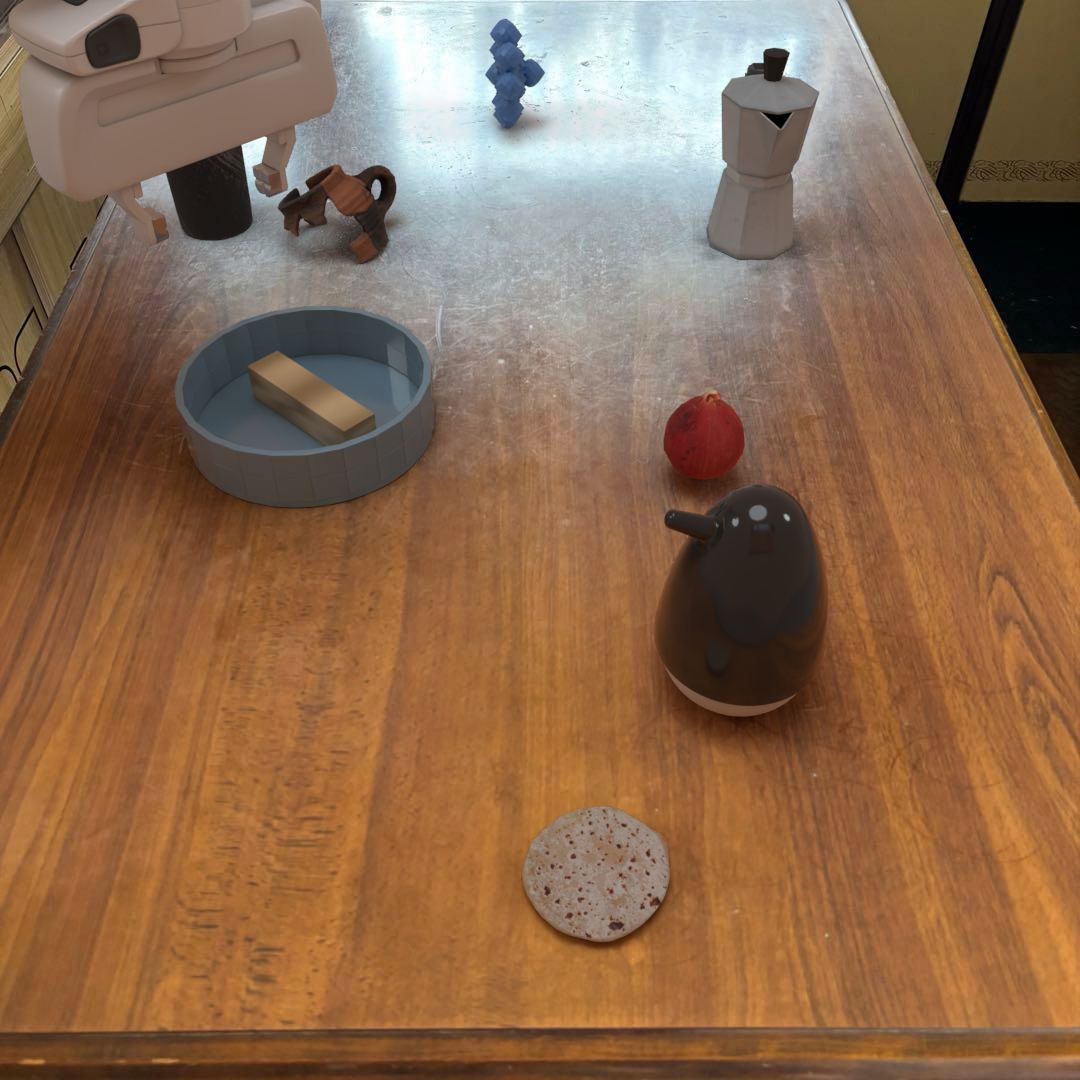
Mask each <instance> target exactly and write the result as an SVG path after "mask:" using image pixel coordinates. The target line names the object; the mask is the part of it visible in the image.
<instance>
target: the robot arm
mask: <svg viewBox="0 0 1080 1080" xmlns="http://www.w3.org/2000/svg"><path fill="white" fill-rule="evenodd" d="M321 2H322V1H321V0H22V1H21V2H20V3H18V4H16V5H15V6H14V7H13V8H12V9H11V11H10V12H9V14H8V26H9V30H10V32H11V35H12V38H13V40H14V41H15V43H16V44H17V45H19V46H20V47H21V48H22V49H23V50H25V51H26V52H27V53H28V54H30V55H28V56H27V58H26V59H25V60H24V62H23V64H22V66H21V68H20V72H19V76H18V95H19V101H20V102H19V103H20V108H21V114H22V119H23V123H24V124H23V125H24V130H25V133H26V137H27V141H28V146H29V149H30V153H31V156H32V159H33V163H34V165H35V168H36V172H37V173H38V175H39V177H40V178H41V179H42V180H43V182H45V183H46V184H47V185H48V186H49V187H51V188H52V189H54V190H55V191H56V192H58V193H60V194H62V195H64V196H66V197H67V198H69V199H71V200H73V201H75V202H77V203H87V202H90V201H94V200H95V199H99V198H102V197H105V196H106V195H107V196H108V197H109V198H110V199H111V200H112V201H113V202H114V203H115V204H116V205H118V206H119V207H120V209H122V211H124V212H125V214H127V215H128V216H129V218H130V222H131V225H132V229H133V230H132V231H133V233H134V235H135V238H136V239H137V240H138V241H139V242H140V243H141V244H143V245H145V246H146V247H148V248H149V247H151V246H154V245H157V244H159V243H162V242H164V241H166V240H168V239H170V233H169V230H167V226H168V223H167V220H166V216H165V215H164V214H163V213H162V212H160V211H156V209H155V208H153V207H152V206H150V205H149V206H146V207H145V206H144V207H143V206H142V205H141V204H140V203H139V202H138V201H137V200H138V199H141V198H143V196H144V192H143V186H142V183H141V182H145V181H147V180H150V179H152V178H156V177H158V176H161V175H163V174H166V172H169V171H172V170H175V169H177V168H180V167H183V166H185V165H188V164H191V163H194V162H196V161H199V160H202V159H205V158H207V157H210V156H213V155H215V154H218V153H221V152H224V151H226V150H229V149H232V148H234V147H237V146H240V145H245V144H247V143H251V142H254V141H256V140H258V139H261V138H266V141H265V146H264V150H263V154H262V158H261V162H259V163H258V164H255V165H253V166H252V174H253V177H254V178H255V180H254V186H255V188H256V190H257V192H258V193H259V194H261V195H265V197H267V198H273V197H274V196H278V195H280V194H282V193H284V192H288V190H289V183H288V177H287V171H286V168H288V166H289V163H290V160H291V156H292V154H293V150H294V148H295V144H296V142H297V135H296V127H295V126H298V125H300V124H302V123H305V122H308V121H311V120H313V119H316V118H318V117H322V116H324V115H327V114H329V113H331V111H332V109H333V107H334V105H335V102H336V101H337V98H338V94H339V93H338V82H337V77H336V71H335V65H334V61H333V56H332V51H331V47H330V42H329V38H328V36H327V31H326V28H325V25H324V22H323V20H322V15H323V14H322V3H321Z"/></svg>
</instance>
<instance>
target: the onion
mask: <svg viewBox="0 0 1080 1080" xmlns="http://www.w3.org/2000/svg"><path fill="white" fill-rule="evenodd" d="M662 440H663V451H664V454H665V455H666V456H667V459H668V460H669V462H670V464H671V466H672V468H674V469H675V470H677V471H678V472H679V473H681V474H683V475H684V476H685V477H687V478H692V479H695V480H700V481H704V480H710V479H714V478H718V477H720V476H722V475H725V474H726V473H727V472H729V471H731V470H732V469H733V468H734V467H735V466H736V464H737V463H738V462H739V460H740V459H741V457H742V455H743V452H744V449H745V446H746V445H745V443H746V441H745V440H746V439H745V428H744V425H743V422H742V420H741V418H740V416H739V414H738V413H737V412H736V410H735V409H734V408H733V407H732V406H731V405H730V404H728V403H727V402H726V401H724V400H723V399H722V395H721V392H720V391H719V390H718V389H714V388H710V389H708V391H705V392H704V393H703V394H702V395H697V396H694V397H692V398H690V399H688V400H686V401H685V402H682V403H681V404H680V405H679V406H678V407H677V408H676V409H675V410H674V411H673V412H672V414H671V415H670V416H669V418H668V420H667V421H666V425H665V430H664V434H663V439H662Z"/></svg>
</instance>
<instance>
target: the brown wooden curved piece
mask: <svg viewBox="0 0 1080 1080" xmlns="http://www.w3.org/2000/svg"><path fill="white" fill-rule="evenodd" d="M376 180H377V181H378V182H379V184H380V192H379V195H378V198H375V195H374V194H373V193H372V189H373V185H374V182H375V181H376ZM305 185H306V187H307V188H308V190H307V191H306V192H304V193H303V194H300V193H301V192H300V191H299V189H298V188H297V187H294V188H293V189H292V190H290V191H289V192H288V193H286V195H285V196H284V197H283V198H282V200H281V201H280V202H279V203H278V205H277V209H278V211H280V212H281V214H282V215H283V230H285V231H290V232H291V233H292V234H293V235H294V236H295V237H296V238H298V237H299V236H300V229H299V227H300V222H301V220H303V221H304V222H305V223H307V224H308V225H309V226H311V227H315V226H324V225H326V224H328V219H327V217H326V215H325V214H326V207H327V203H328V200H330V201H331V202H332V204H333V205H334V206H335V208H336V210H337V211H338V212H339V213H340V214H342V215H343V216H344V217H347V218H348V217H350V218H351V217H353V218H354V220H355V221H356V222H358V225H360V227H361V230H362V232H361V234H360V235H359V236H358V237H357V238H355V239H354V240H353V241H352V242H350V243H349V248H350V250H351V251H352V253H354V255H355V257H356V259H357V261H358V262H359V264H363V263H365V262H366V261H369V260H370V259H371V258H373V257H374V256H375V255H376V254H377V253H378V252H380V251H381V250H382V249H383V248H384V247H386V245H387V244H388V242H389V234H388V232H387V227H386V223H385V218H386V215H387V213H388V211H389V210H390V208H391V207H392V206H393V203H394V202H395V199H396V196H397V189H398V188H397V182H396V176H395V175H394V174H393V173H392V172H391V170H390V169H389V168H388V167H386V166H385V165H382V164H376V165H371V166H369V167H367V168H365V169H364V170H362V171H361V172H360V173H357V174H355V175H350V174H347V173H345V171H344V170H343V168H342V166H341V165H340V164H333V165H329V166H328V167H326V168H324V169H322V170H320V171H319V172H317V173H315V174H314V175H312V176H310V177H309V178H308V179H306V180H305Z"/></svg>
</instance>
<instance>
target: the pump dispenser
mask: <svg viewBox="0 0 1080 1080" xmlns="http://www.w3.org/2000/svg"><path fill="white" fill-rule="evenodd" d="M663 522H664V526H665V528H667V529H669V530H672V531H675V532H678V533H679V534H682V535H685V536H687V537H686V538H685V540H684V542H683V543H682V545H681V547H680V549H679V550H678V553H677V554H676V556H675V558H674V560H673V562H672V564H671V567H670V569H669V571H668V573H667V576H666V578H665V582H664V583H663V587H662V590H661V594H660V597H659V600H658V603H657V607H656V611H655V616H654V617H655V618H654V626H653V638H654V639H653V641H654V645H655V648H656V651H657V655H658V656H659V658H660V660H661V662H662V664H663V665H664V668H665V670H666V672H667V674H668V676H669V677H670V680H672V682H673V683H674V685H675V686H676V687H677V688H678V690H679V691H680V692H681V693H682V694H683V695H685V696H686V697H687V698H688V699H689V700H690V701H692V703H695V704H696V705H698V706H700V707H701V708H704V709H706V710H708V711H711V712H713V713H716V714H719V715H724V716H729V717H753V716H759V715H762V714H766V713H769V712H771V711H774V710H776V709H778V708H780V707H782V706H783V705H785V704H786V703H788V702H789V701H790V700H792V699H793V698H795V696H796V695H797V694H798V693H800V692H801V691H802V690H804V689H805V688H806V687H807V686H808V685H809V684H810V683H811V682H812V680H813V679H814V678H816V677H815V676H816V675H817V674H818V671H819V669H820V667H821V664H822V662H823V659H824V655H825V651H826V645H827V639H828V626H829V614H830V613H829V611H830V608H829V607H830V606H829V605H830V603H829V602H830V598H829V597H830V595H829V584H828V577H827V570H826V564H825V560H824V556H823V551H822V549H821V545H820V542H819V538H818V535H817V531H816V530H815V527H814V525H813V523H812V521H811V518H810V516H809V515H808V513H807V511H806V509H805V508H804V507H803V505H802V504H801V503H800V502H799V500H798V499H797V498H796V497H795V496H793V495H792V494H791V493H789V492H788V491H786V490H785V489H782V488H780V487H779V486H776V485H772V484H768V483H749V484H744V485H740V486H738V487H736V488H734V489H732V490H730V491H728V492H727V493H726V494H724V495H723V496H721V497H720V498H719V499H717V500H716V501H715V502H714V503H713V504H712V505H711V506H710V507H709V508H708V509H707V510H706V512H704V513H703V514H701V513H696V512H690V511H685V510H680V509H674V508H671V509H668V510H667V512H666V513H665V514H664V519H663Z"/></svg>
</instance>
